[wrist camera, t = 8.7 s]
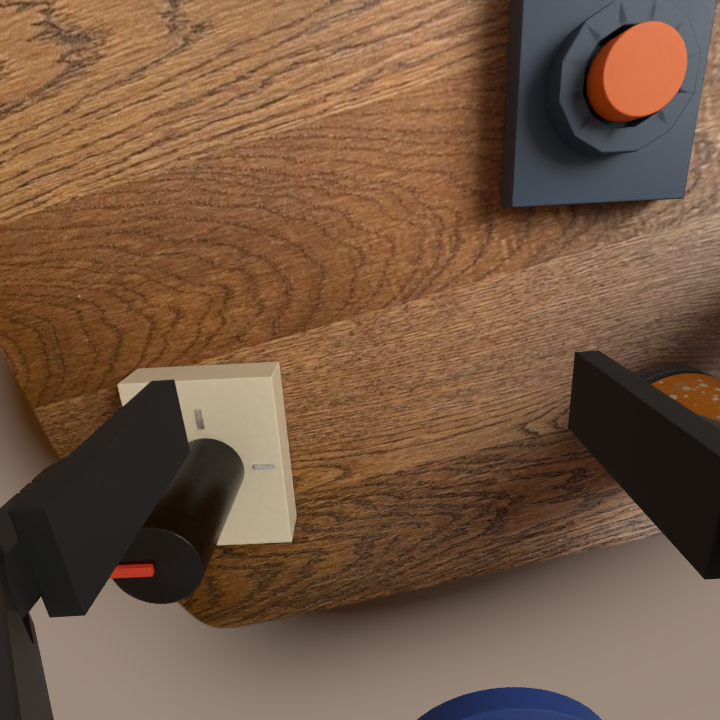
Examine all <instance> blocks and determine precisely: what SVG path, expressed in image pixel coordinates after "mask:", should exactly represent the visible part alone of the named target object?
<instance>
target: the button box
mask: <svg viewBox="0 0 720 720" xmlns="http://www.w3.org/2000/svg"><path fill="white" fill-rule="evenodd" d="M716 3H717V0H511V4H510V25H509V47H508V68H507V89H506V111H505V132H504V153H503V175H502V196H501V207H531V206H550V205H569V204H588V203H607V202H626V201H645V200H664V199H682V198H684V193H685V187H686V181H687V175H688V169H689V163H690V157H691V151H692V145H693V139H694V133H695V127H696V121H697V115H698V109H699V103H700V98H701V92H702V86H703V80H704V74H705V68H706V62H707V56H708V50H709V44H710V38H711V32H712V26H713V20H714V14H715V9H716ZM647 21H658V22H663V23H666V24H668V25H670V26H672V27H673V28H674V29H675V30H676V31H677V32H678V33H679V34H680V36H681V37H682V39H683V41H684V43H685V46H686V50H687V69H686V74H685V77H684V80H683V82H682V85H681V87H680V88H679V90H678V92H677V93H676V95H675V96H674V97H673V99H672V100H671V101H670V102H669V103H668V104H667V105H666V106H665V107H663V108H662V109H660V110H659V111H657V112H655V113H653V114H651V115H648V116H645V117H641V118H638V119H635V120H631V121H627V122H622V123H616V122H610V121H607V120H605V119H603V118H601V117H600V116H599V115H598V114H597V113H596V112H595V111H594V110H593V108H592V107H591V105H590V103H589V100H588V97H587V91H586V81H587V75H588V71H589V68H590V66H591V63H592V61H593V59H594V58H595V56H596V54H597V53H598V52H599V51H600V49H601V48H602V47H603V46H604V45H605V44H606V43H608V42H609V41H610V40H612V39H613V38H615V37H617V36H618V35H620V34H621V33H623V32H624V31H626V30H628V29H629V28H631V27H633V26H635V25H637V24H639V23H643V22H647Z"/></svg>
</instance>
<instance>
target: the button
mask: <svg viewBox="0 0 720 720" xmlns="http://www.w3.org/2000/svg"><path fill="white" fill-rule="evenodd" d="M686 69H687V50H686V46H685V43H684V41H683V39H682V37H681V36H680V34H679V33H678V32H677V31H676V30H675V29H674V28H673V27H672V26H670V25H668V24H666V23H663V22H658V21H647V22H643V23H639V24H637V25H635V26H633V27H631V28H629V29H628V30H626V31H624V32H623V33H621V34H620V35H618V36H617V37H615V38H613V39H612V40H610V41H609V42H608V43H606V44H605V45H604V46H603V47H602V48H601V49H600V51H599V52H598V53H597V54H596V56H595V58H594V59H593V61H592V63H591V66H590V68H589V71H588V75H587V81H586V91H587V97H588V100H589V103H590V105H591V107H592V108H593V110H594V111H595V112H596V113H597V114H598V115H599V116H600V117H601V118H603V119H605V120H607V121H610V122H616V123H622V122H627V121H631V120H635V119H638V118H641V117H645V116H648V115H651V114H653V113H655V112H657V111H659V110H660V109H662V108H663V107H665V106H666V105H667V104H668V103H669V102H670V101H671V100H672V99H673V97H674V96H675V95H676V93H677V92H678V90H679V88H680V87H681V85H682V82H683V80H684V77H685V74H686Z"/></svg>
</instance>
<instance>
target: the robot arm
mask: <svg viewBox="0 0 720 720" xmlns="http://www.w3.org/2000/svg"><path fill="white" fill-rule="evenodd" d="M568 428H569V429H570V431H571V432H572V433H573V434H574V435H575V436H576V437H577V438H578V439H579V441H580V442H581V443H582V444H583V445H584V446H585V447H586V448H587V449H588V451H589V452H590V453H591V454H592V455H593V456H594V457H595V458H596V459H597V461H598V462H599V463H600V464H601V465H602V466H603V467H604V468H605V469H606V471H607V472H608V473H609V474H610V475H611V476H612V477H613V478H614V479H615V480H616V482H617V483H618V484H619V485H620V486H621V487H622V488H623V489H624V490H625V492H626V493H627V494H628V495H629V496H630V497H631V498H632V499H633V500H634V502H635V503H636V504H637V505H638V506H639V507H640V508H641V509H642V510H643V512H644V513H645V514H646V515H647V516H648V517H649V518H650V519H651V520H652V522H653V523H654V524H655V525H656V526H657V527H658V528H659V529H660V530H661V532H662V533H663V534H664V535H665V536H666V537H667V538H668V539H669V540H670V542H672V544H673V545H674V546H675V547H676V548H677V549H678V550H679V551H680V553H681V554H682V555H683V556H684V557H685V558H686V559H687V560H688V561H689V563H691V565H692V566H693V567H694V568H695V569H696V570H697V571H698V573H699V574H700V575H701V576H702V577H703V578H704V579H719V578H720V422H719V421H716V420H714V419H711V418H709V417H706V416H703V415H701V414H696V413H694V412H693V411H691V410H690V409H688V408H687V407H685V406H684V405H682V404H680V403H679V402H677V401H676V400H674V399H673V398H671V397H670V396H668V395H667V394H665V393H663V392H662V391H660V390H659V389H657V388H656V387H654V386H653V385H651V384H650V383H648V382H646V381H645V380H643V379H642V378H640V377H639V376H637V375H636V374H634V373H633V372H631V371H630V370H628V369H626V368H625V367H623V366H622V365H620V364H619V363H617V362H616V361H614V360H613V359H611V358H609V357H608V356H606V355H605V354H603V353H602V352H600V351H586V352H575V358H574V369H573V380H572V391H571V401H570V412H569V423H568ZM189 454H190V448H189V443H188V439H187V434H186V430H185V425H184V421H183V416H182V412H181V407H180V403H179V398H178V394H177V389H176V385H175V380H174V379H172V380H157V381H151V382H150V383H148V384H147V385H146V386H145V387H144V388H143V389H142V390H141V391H140V392H138V393H137V394H136V395H135V396H134V397H133V398H132V399H131V400H130V401H129V402H127V403H126V404H125V405H124V406H123V407H122V408H121V409H120V410H119V411H117V412H116V413H115V414H114V415H113V416H112V417H111V418H110V419H109V420H108V421H106V422H105V423H104V424H103V425H102V426H101V427H100V428H99V429H98V430H96V431H95V432H94V433H93V434H92V435H91V436H90V437H89V438H88V439H87V440H85V441H84V442H83V443H82V444H81V445H80V446H79V447H78V448H77V449H75V450H74V451H73V452H72V453H71V454H70V455H69V456H68V457H65V458H63V459H61V460H59V461H58V462H56V463H54V464H52V465H51V466H49V467H47V468H46V469H44V470H43V471H42V472H41V473H40V474H39V475H38V476H36V477H35V478H34V479H33V480H32V483H28V484H27V485H26V486H25V487H24V488H23V489H22V490H20V493H17V494H16V495H15V496H14V497H13V498H11V499H10V500H9V501H8V502H7V503H6V504H5V505H3V506H2V507H1V508H0V720H54V719H53V714H52V709H51V704H50V700H49V695H48V690H47V685H46V680H45V675H44V671H43V666H42V661H41V656H40V651H39V647H38V642H37V637H36V632H35V627H34V624H33V621H32V619H31V616H30V614H29V611H30V610H31V608H32V607H33V606H34V604H35V603H36V602H37V601H38V599H39V598H40V597H42V599H43V602H44V604H45V607H46V609H47V612H48V614H49V617H64V616H81V615H85V614H86V613H87V611H88V610H89V608H90V607H91V605H92V604H93V602H94V600H95V599H96V597H97V596H98V594H99V593H100V591H101V590H102V588H103V587H104V585H105V583H106V582H107V580H108V579H109V577H110V576H111V574H112V573H113V571H114V570H115V568H116V567H117V565H118V563H119V562H120V560H121V559H122V557H123V556H124V554H125V553H126V551H127V550H128V548H129V546H130V545H131V543H132V542H133V540H134V539H135V537H136V536H137V534H138V533H139V531H140V529H141V528H142V526H143V525H144V523H145V522H146V520H147V519H148V517H149V516H150V514H151V512H152V511H153V509H154V508H155V506H156V505H157V503H158V502H159V500H160V499H161V497H162V495H163V494H164V492H165V491H166V489H167V488H168V486H169V485H170V483H171V482H172V480H173V479H174V477H175V475H176V474H177V472H178V471H179V469H180V468H181V466H182V465H183V463H184V462H185V460H186V458H187V457H188V455H189Z"/></svg>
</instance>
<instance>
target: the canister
mask: <svg viewBox="0 0 720 720" xmlns="http://www.w3.org/2000/svg"><path fill="white" fill-rule="evenodd" d="M637 376H639V377H640V378H642V379H643V380H645V381H646V382H648V383H650V384H651V385H653V386H654V387H656V388H657V389H659V390H660V391H662V392H663V393H665V394H667V395H668V396H670V397H671V398H673V399H674V400H676V401H677V402H679V403H680V404H682V405H684V406H685V407H687V408H688V409H690V410H691V411H693V412H694V413H696V414H701V415H703V416H706V417H709V418H711V419H714V420H716V421H719V422H720V380H719V379H717V378H715V377H713V376H711V375H709V374H707V373H705V372H703V371H701V370H699V369H697V368H693V367H690V366H686V365H678V364H677V365H663V366H657V367H654V368H651V369H647V370H645V371H643V372H641V373H639V374H637Z"/></svg>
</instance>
